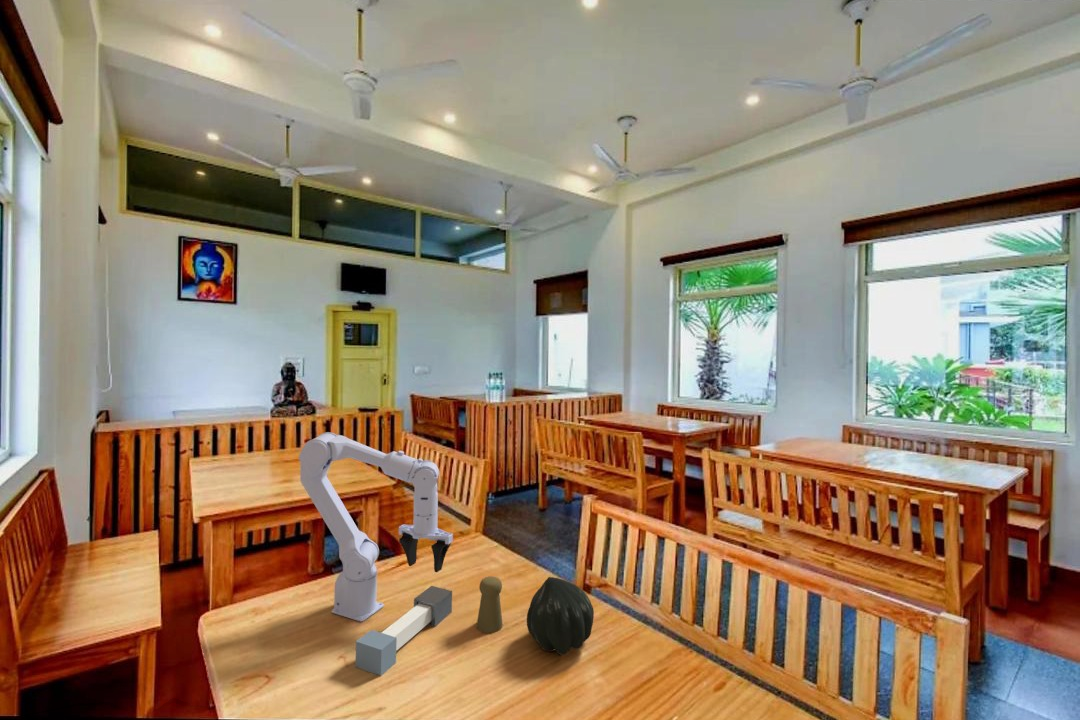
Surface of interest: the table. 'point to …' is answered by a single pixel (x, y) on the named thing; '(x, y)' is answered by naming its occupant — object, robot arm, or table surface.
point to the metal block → (436, 603)
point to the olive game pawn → (490, 605)
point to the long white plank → (410, 624)
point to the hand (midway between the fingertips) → (425, 567)
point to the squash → (560, 616)
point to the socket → (376, 652)
